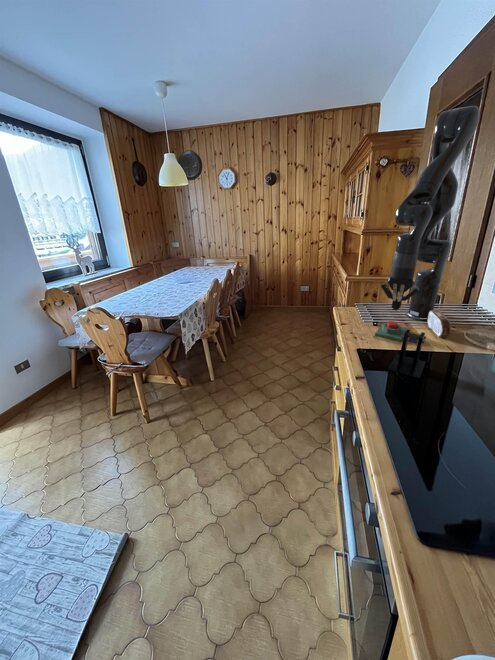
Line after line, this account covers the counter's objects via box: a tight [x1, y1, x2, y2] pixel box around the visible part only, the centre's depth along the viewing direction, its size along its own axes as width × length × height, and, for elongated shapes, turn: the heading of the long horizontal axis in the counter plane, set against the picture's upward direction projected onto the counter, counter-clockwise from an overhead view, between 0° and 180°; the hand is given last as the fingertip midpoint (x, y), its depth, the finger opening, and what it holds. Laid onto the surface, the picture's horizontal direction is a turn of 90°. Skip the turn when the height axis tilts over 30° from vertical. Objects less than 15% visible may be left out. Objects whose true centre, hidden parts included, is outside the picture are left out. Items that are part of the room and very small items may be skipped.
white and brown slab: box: [426, 309, 451, 339], centre depth 111 cm, size 15×3×8 cm, turn 168°
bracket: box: [387, 328, 427, 379], centre depth 90 cm, size 11×9×13 cm
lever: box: [408, 332, 427, 345], centre depth 92 cm, size 13×5×2 cm, turn 143°
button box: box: [374, 322, 408, 343], centre depth 112 cm, size 11×9×4 cm
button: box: [386, 320, 399, 329], centre depth 111 cm, size 4×4×2 cm
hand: (395, 309), depth 108 cm, fingers closed
